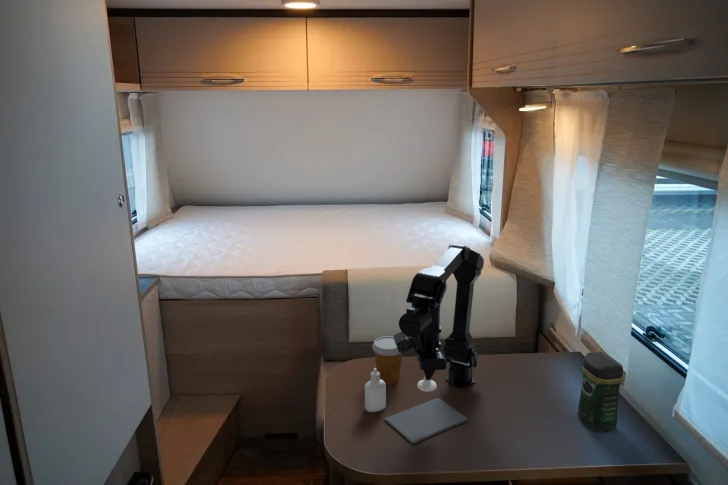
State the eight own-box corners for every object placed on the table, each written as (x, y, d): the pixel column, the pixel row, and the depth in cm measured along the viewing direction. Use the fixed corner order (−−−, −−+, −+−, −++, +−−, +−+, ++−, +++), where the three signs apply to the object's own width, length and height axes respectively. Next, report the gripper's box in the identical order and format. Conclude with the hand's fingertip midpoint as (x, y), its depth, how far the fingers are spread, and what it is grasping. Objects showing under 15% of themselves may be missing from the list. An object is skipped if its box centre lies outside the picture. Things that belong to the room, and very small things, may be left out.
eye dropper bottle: (385, 413, 145) (385, 373, 142) (364, 412, 146) (363, 372, 143) (386, 404, 149) (386, 365, 146) (365, 403, 150) (365, 364, 147)
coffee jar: (622, 431, 136) (630, 365, 131) (593, 435, 135) (601, 368, 130) (599, 410, 145) (606, 347, 140) (572, 414, 144) (578, 350, 139)
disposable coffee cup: (384, 368, 169) (383, 332, 166) (410, 376, 164) (410, 340, 160) (366, 381, 162) (365, 344, 158) (393, 390, 156) (393, 352, 153)
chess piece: (413, 387, 139) (413, 351, 137) (425, 379, 143) (425, 345, 140) (429, 393, 136) (429, 357, 133) (440, 386, 139) (441, 350, 137)
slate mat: (437, 399, 151) (438, 397, 151) (467, 420, 142) (467, 418, 141) (384, 420, 142) (384, 418, 142) (412, 444, 132) (412, 441, 132)
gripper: (392, 308, 143) (392, 361, 147) (399, 339, 125) (399, 398, 129) (434, 306, 143) (433, 359, 148) (447, 337, 126) (446, 397, 130)
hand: (427, 377), depth 139 cm, fingers closed on chess piece
